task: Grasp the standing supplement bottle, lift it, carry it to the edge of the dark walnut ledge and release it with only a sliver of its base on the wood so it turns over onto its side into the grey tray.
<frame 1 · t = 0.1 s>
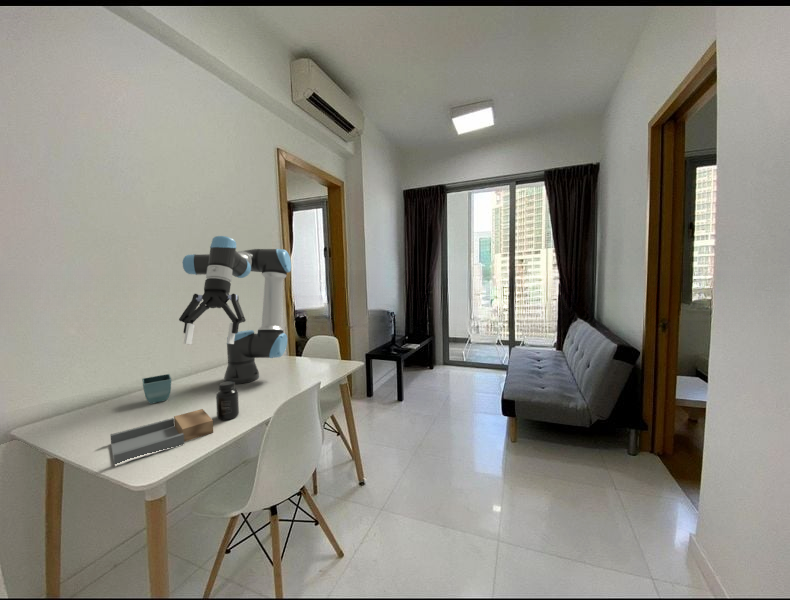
hand: (209, 344, 97), 28 cm above the table, tool tilted 20°, fingers open, 13 cm apart
supplement bottle: (228, 417, 107), on the table
flower pot: (157, 401, 120), on the table
walnut ledge: (193, 430, 97), on the table
grey tray: (147, 444, 89), on the table
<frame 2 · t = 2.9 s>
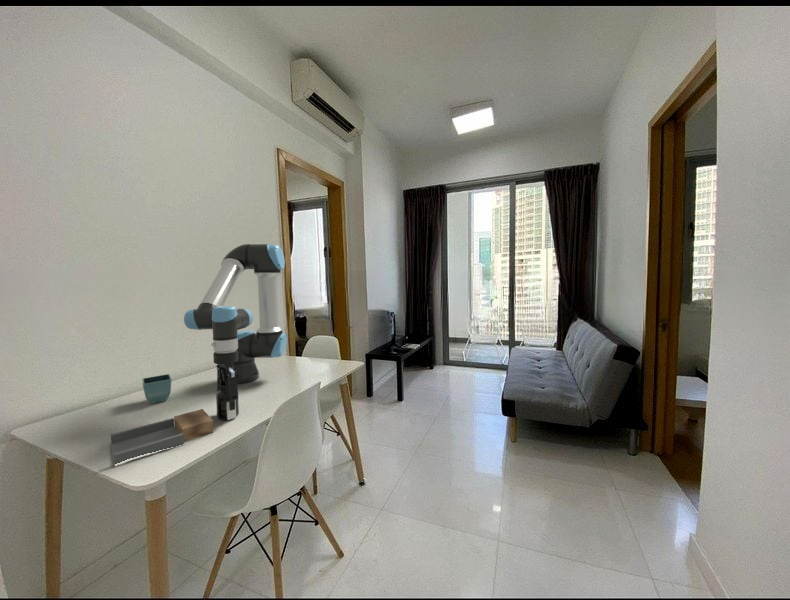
hand: (228, 414, 107), 1 cm above the table, tool pointing down, fingers closed on supplement bottle, 7 cm apart
supplement bottle: (228, 417, 107), on the table, touching gripper
everything else where it was.
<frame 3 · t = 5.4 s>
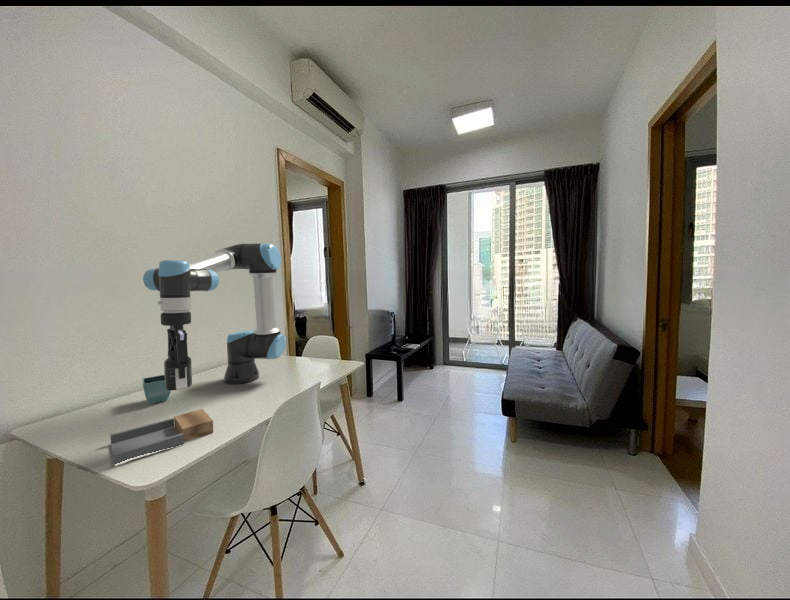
hand: (178, 385, 93), 16 cm above the table, tool pointing down, fingers closed on supplement bottle, 7 cm apart
supplement bottle: (178, 387, 93), point 15 cm above the table, touching gripper
everything else where it was.
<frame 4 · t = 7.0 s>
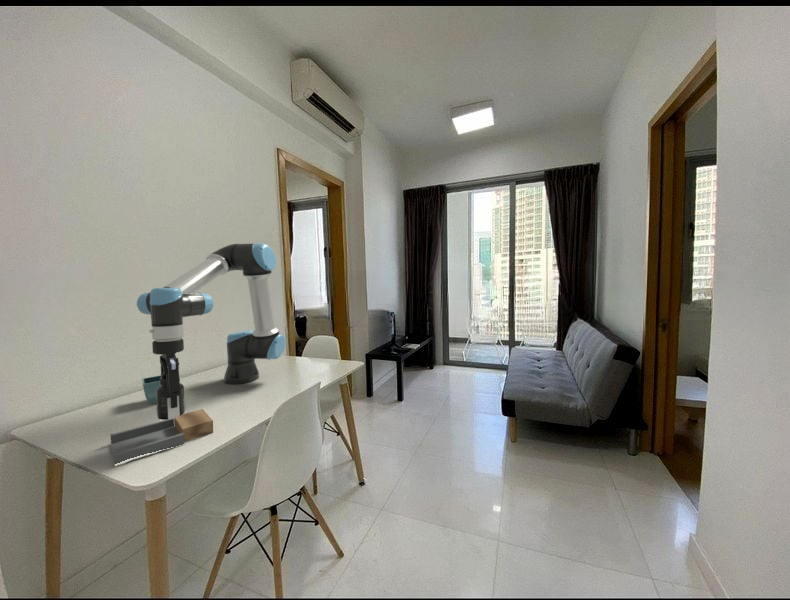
hand: (171, 413, 92), 7 cm above the table, tool pointing down, fingers closed on supplement bottle, 7 cm apart
supplement bottle: (171, 415, 92), point 7 cm above the table, touching gripper
everything else where it was.
when the fingers open (6 cm above the table, at t = 7.7 s): supplement bottle drops 1 cm, resting on grey tray.
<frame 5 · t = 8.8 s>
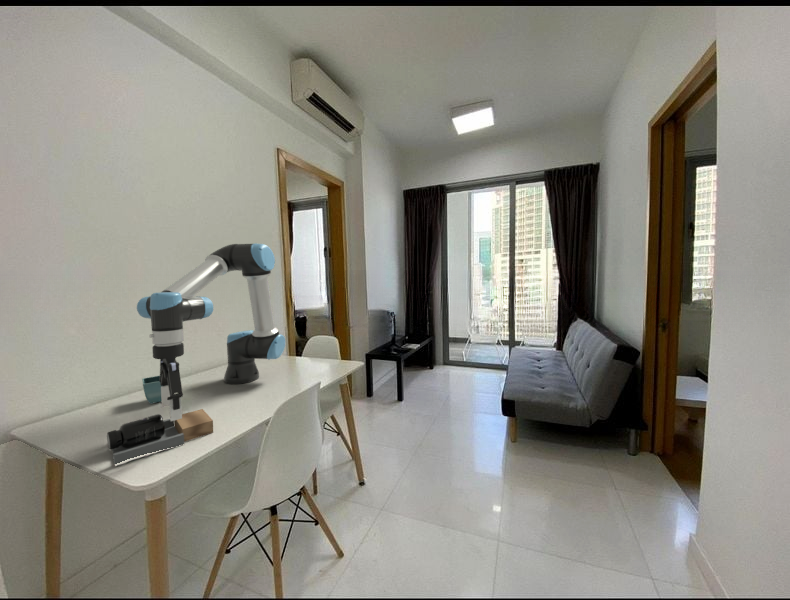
hand: (171, 412, 92), 8 cm above the table, tool pointing down, fingers open, 13 cm apart
supplement bottle: (162, 424, 92), point 4 cm above the table, touching grey tray
everything else where it was.
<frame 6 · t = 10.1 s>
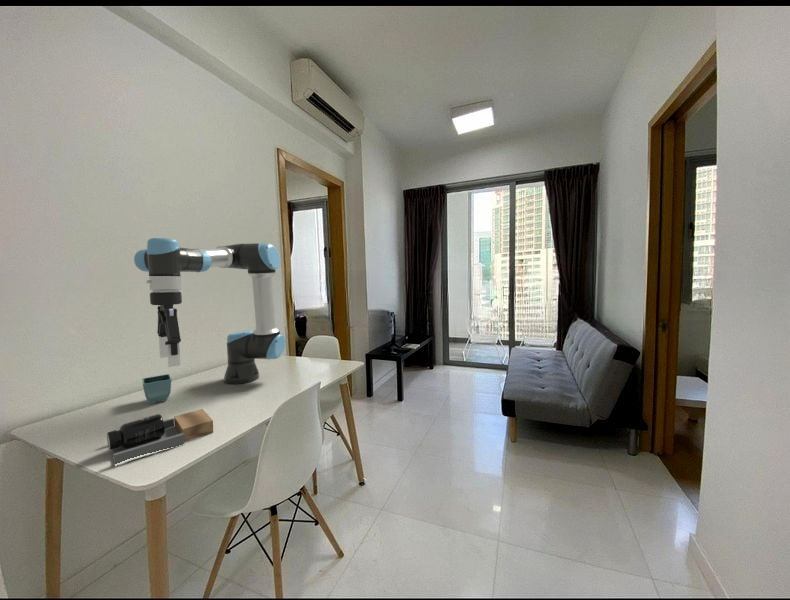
hand: (169, 361, 91), 23 cm above the table, tool pointing down, fingers open, 13 cm apart
nothing on the table moved.
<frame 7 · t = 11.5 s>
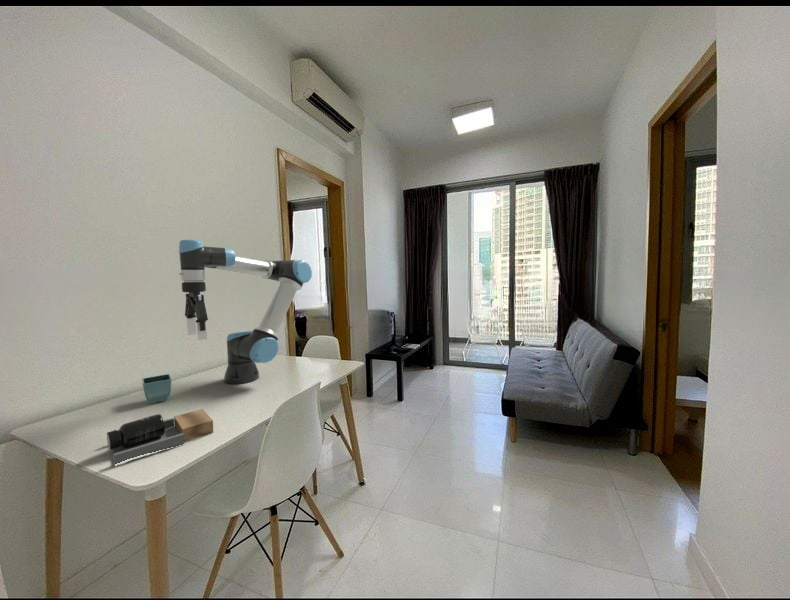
hand: (197, 336, 116), 26 cm above the table, tool pointing down, fingers open, 13 cm apart
nothing on the table moved.
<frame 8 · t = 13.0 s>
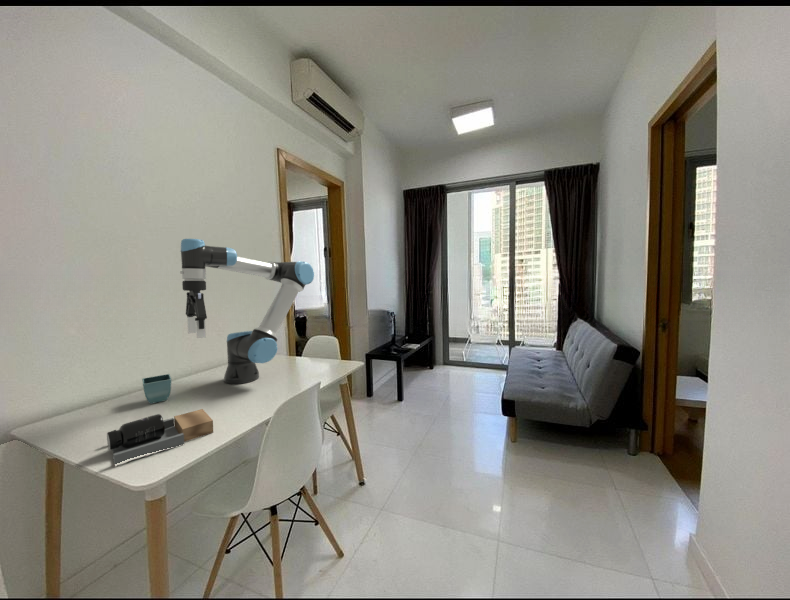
hand: (196, 335, 117), 27 cm above the table, tool pointing down, fingers open, 13 cm apart
nothing on the table moved.
at the end: supplement bottle tilted 90°; supplement bottle inside the target area (6.7 cm from its centre), point 4.0 cm above the table; the gripper is holding nothing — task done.
